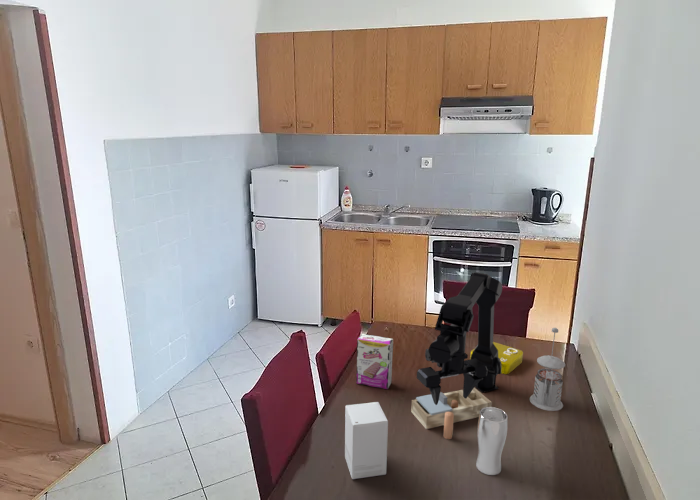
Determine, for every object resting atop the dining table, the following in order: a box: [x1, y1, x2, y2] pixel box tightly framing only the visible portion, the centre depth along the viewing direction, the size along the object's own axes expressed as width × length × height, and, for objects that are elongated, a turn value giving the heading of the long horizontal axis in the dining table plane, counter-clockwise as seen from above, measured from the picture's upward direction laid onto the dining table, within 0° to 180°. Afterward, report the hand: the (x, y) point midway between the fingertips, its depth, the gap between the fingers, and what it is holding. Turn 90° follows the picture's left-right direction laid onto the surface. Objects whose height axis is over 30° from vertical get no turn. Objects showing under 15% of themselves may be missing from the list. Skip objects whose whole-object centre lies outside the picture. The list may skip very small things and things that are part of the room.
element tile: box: [469, 341, 524, 375], centre depth 174 cm, size 15×15×5 cm
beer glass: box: [475, 406, 509, 476], centre depth 117 cm, size 7×7×15 cm
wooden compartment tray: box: [410, 387, 493, 430], centre depth 141 cm, size 22×9×4 cm, turn 111°
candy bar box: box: [355, 333, 394, 390], centre depth 156 cm, size 11×5×16 cm, turn 71°
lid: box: [415, 391, 452, 415], centre depth 138 cm, size 7×9×3 cm
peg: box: [442, 412, 454, 440], centre depth 130 cm, size 2×2×7 cm
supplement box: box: [344, 401, 389, 480], centre depth 117 cm, size 9×9×15 cm
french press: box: [529, 327, 566, 412], centre depth 144 cm, size 10×12×25 cm
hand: (450, 400), depth 128 cm, fingers open, 9 cm apart
